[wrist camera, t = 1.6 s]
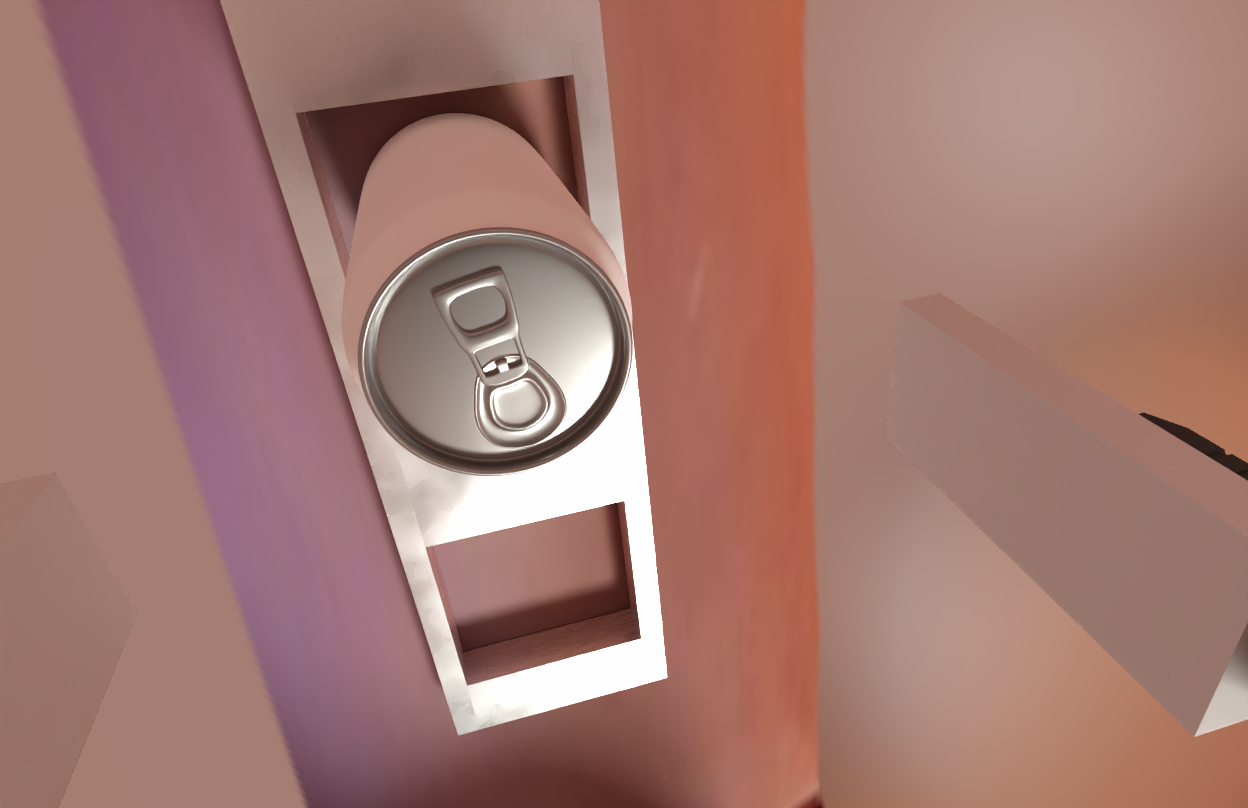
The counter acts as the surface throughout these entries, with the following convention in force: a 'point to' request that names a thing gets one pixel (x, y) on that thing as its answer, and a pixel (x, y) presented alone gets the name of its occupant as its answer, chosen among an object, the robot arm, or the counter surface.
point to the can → (482, 302)
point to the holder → (409, 487)
